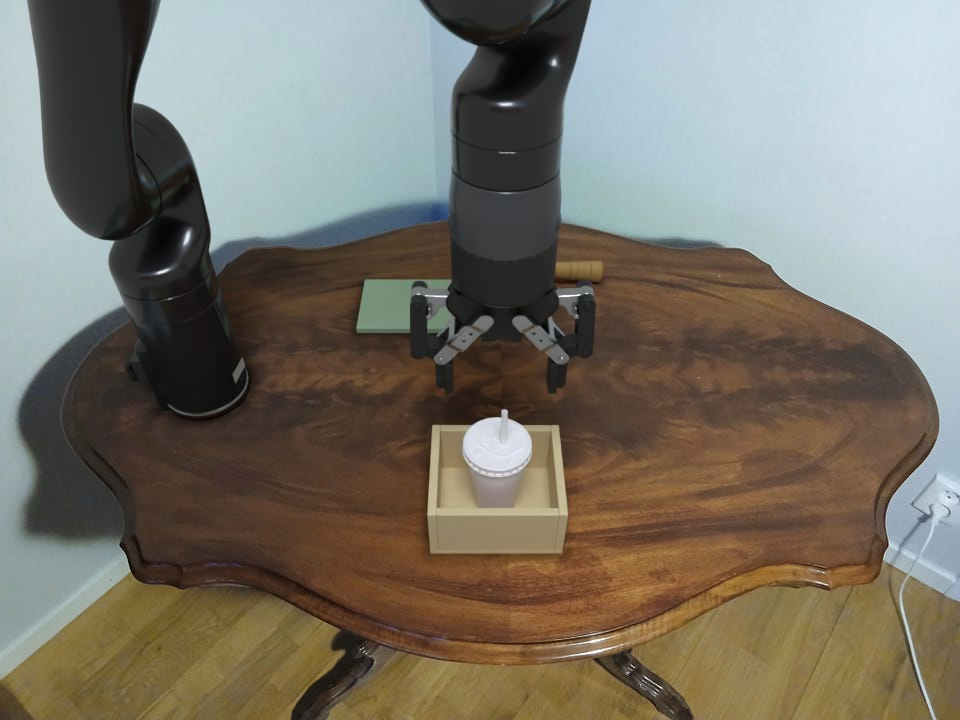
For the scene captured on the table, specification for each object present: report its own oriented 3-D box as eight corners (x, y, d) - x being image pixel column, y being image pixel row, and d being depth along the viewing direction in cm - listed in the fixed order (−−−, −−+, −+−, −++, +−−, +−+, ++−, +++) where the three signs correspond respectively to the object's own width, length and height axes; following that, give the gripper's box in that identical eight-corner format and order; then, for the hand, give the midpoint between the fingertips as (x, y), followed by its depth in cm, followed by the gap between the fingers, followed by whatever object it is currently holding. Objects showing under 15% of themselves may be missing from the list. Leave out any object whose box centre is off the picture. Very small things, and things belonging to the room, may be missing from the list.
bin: (430, 553, 69) (427, 515, 65) (434, 464, 77) (432, 424, 72) (562, 553, 70) (568, 515, 65) (553, 464, 77) (558, 424, 73)
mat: (356, 333, 92) (356, 328, 91) (365, 283, 99) (364, 279, 98) (451, 333, 92) (451, 328, 91) (453, 284, 99) (453, 279, 98)
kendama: (586, 267, 104) (462, 262, 100) (600, 235, 99) (469, 229, 95) (597, 309, 100) (468, 305, 96) (612, 277, 94) (475, 273, 91)
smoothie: (521, 537, 70) (529, 445, 60) (457, 525, 71) (454, 432, 61) (531, 483, 75) (540, 390, 65) (470, 473, 76) (470, 379, 66)
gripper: (601, 193, 53) (580, 356, 64) (404, 194, 53) (417, 356, 64) (615, 255, 47) (589, 420, 58) (396, 256, 47) (412, 421, 58)
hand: (500, 387), depth 61 cm, fingers open, 8 cm apart
